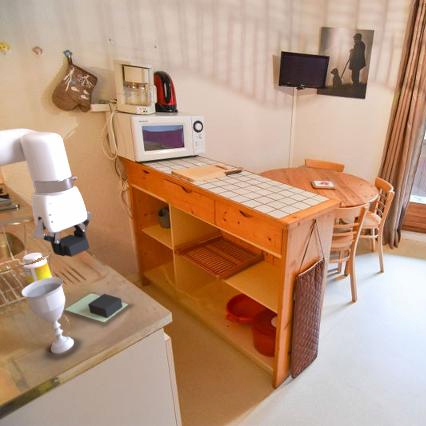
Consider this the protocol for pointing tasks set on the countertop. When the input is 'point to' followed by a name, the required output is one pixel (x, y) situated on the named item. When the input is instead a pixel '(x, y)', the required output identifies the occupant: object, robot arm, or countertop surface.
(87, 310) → the mat
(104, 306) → the pad
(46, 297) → the chalice
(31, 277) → the supplement bottle
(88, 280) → the countertop surface
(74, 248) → the loose pad
